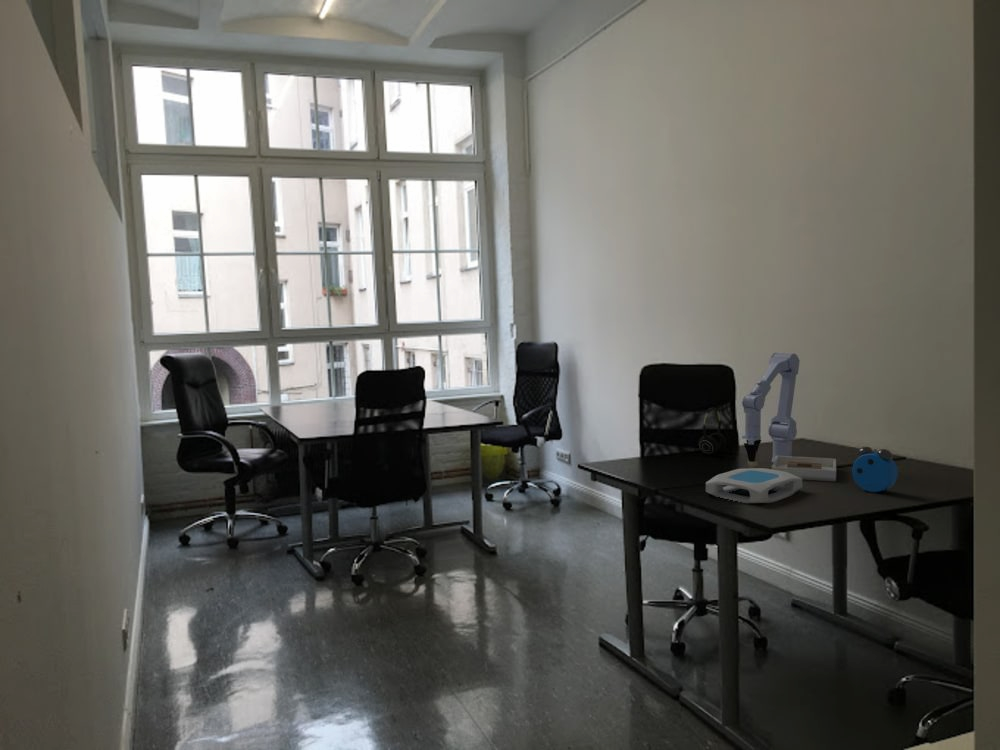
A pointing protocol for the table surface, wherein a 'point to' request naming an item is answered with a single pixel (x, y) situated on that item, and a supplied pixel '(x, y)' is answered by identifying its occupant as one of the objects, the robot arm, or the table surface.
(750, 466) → the peg
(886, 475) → the alarm clock
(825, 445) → the table surface
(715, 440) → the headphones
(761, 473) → the white and blue housing
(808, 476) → the tray
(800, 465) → the bore plate
